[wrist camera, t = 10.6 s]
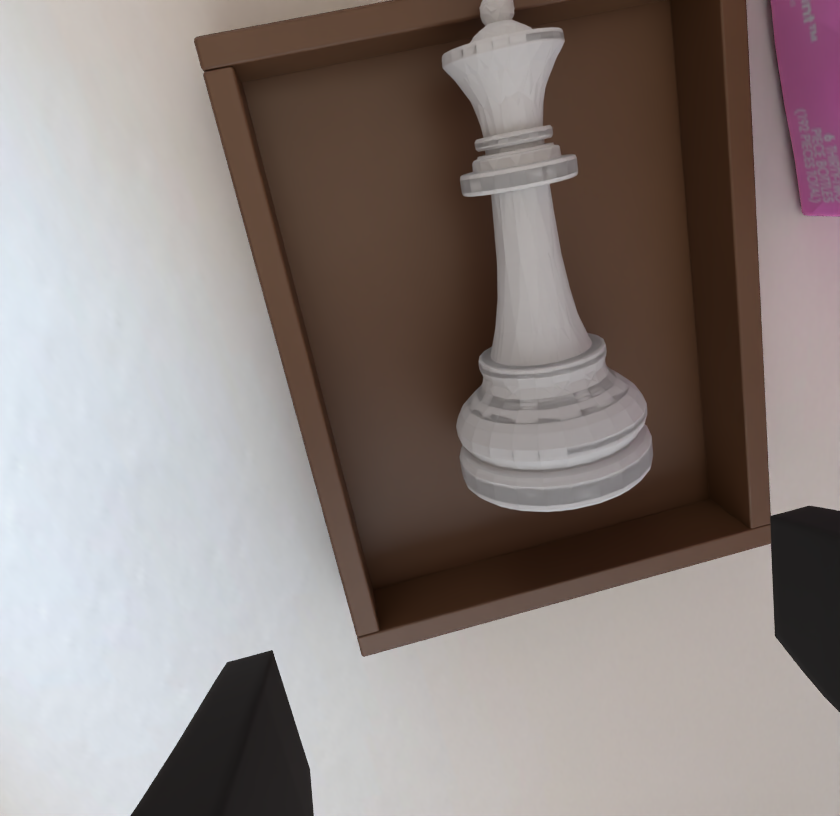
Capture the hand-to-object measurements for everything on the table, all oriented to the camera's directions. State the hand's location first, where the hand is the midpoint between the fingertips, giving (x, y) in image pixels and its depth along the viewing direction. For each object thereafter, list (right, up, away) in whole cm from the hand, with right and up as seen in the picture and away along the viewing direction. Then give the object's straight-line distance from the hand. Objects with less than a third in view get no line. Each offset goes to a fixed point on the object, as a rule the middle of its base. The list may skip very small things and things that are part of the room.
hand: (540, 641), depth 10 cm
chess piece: (+2, +2, +7) cm, 7 cm away
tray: (0, +6, +8) cm, 10 cm away
